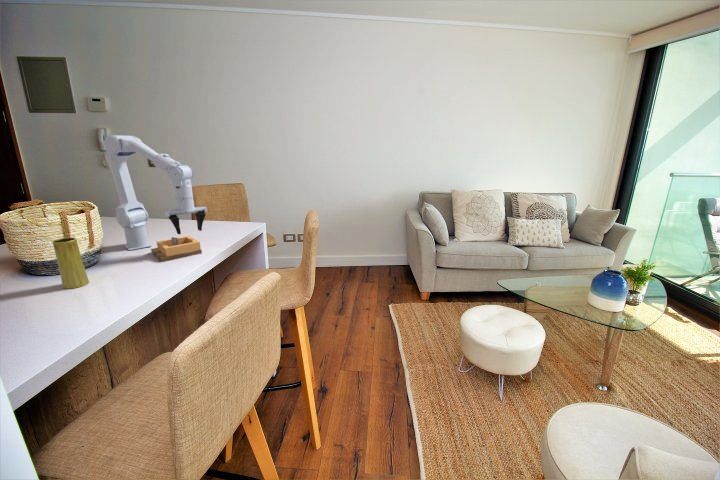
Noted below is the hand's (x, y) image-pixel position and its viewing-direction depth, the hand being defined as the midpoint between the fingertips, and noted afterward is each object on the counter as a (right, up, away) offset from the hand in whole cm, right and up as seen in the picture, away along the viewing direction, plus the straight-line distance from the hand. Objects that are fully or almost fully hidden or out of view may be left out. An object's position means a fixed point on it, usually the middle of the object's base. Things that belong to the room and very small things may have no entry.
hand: (189, 232), depth 125 cm
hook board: (-5, -8, 0) cm, 10 cm away
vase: (-19, -17, -28) cm, 38 cm away
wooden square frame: (-4, -7, 0) cm, 8 cm away
